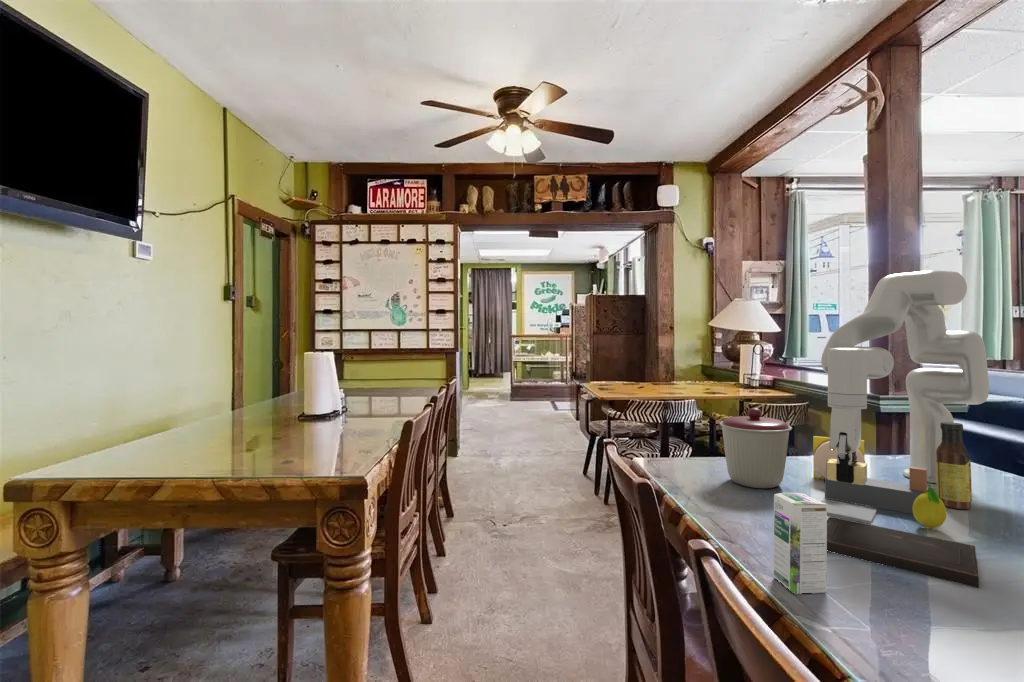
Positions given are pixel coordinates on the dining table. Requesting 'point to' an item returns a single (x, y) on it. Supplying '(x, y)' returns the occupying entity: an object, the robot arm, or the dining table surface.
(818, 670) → the dining table surface
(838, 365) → the robot arm
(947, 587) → the dining table surface
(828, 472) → the tan rectangular block
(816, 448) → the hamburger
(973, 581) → the hardcover book
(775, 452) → the canister
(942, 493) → the sauce bottle
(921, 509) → the lemon
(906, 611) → the dining table surface
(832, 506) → the mat
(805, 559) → the syrup box
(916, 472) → the plane body
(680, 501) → the dining table surface
